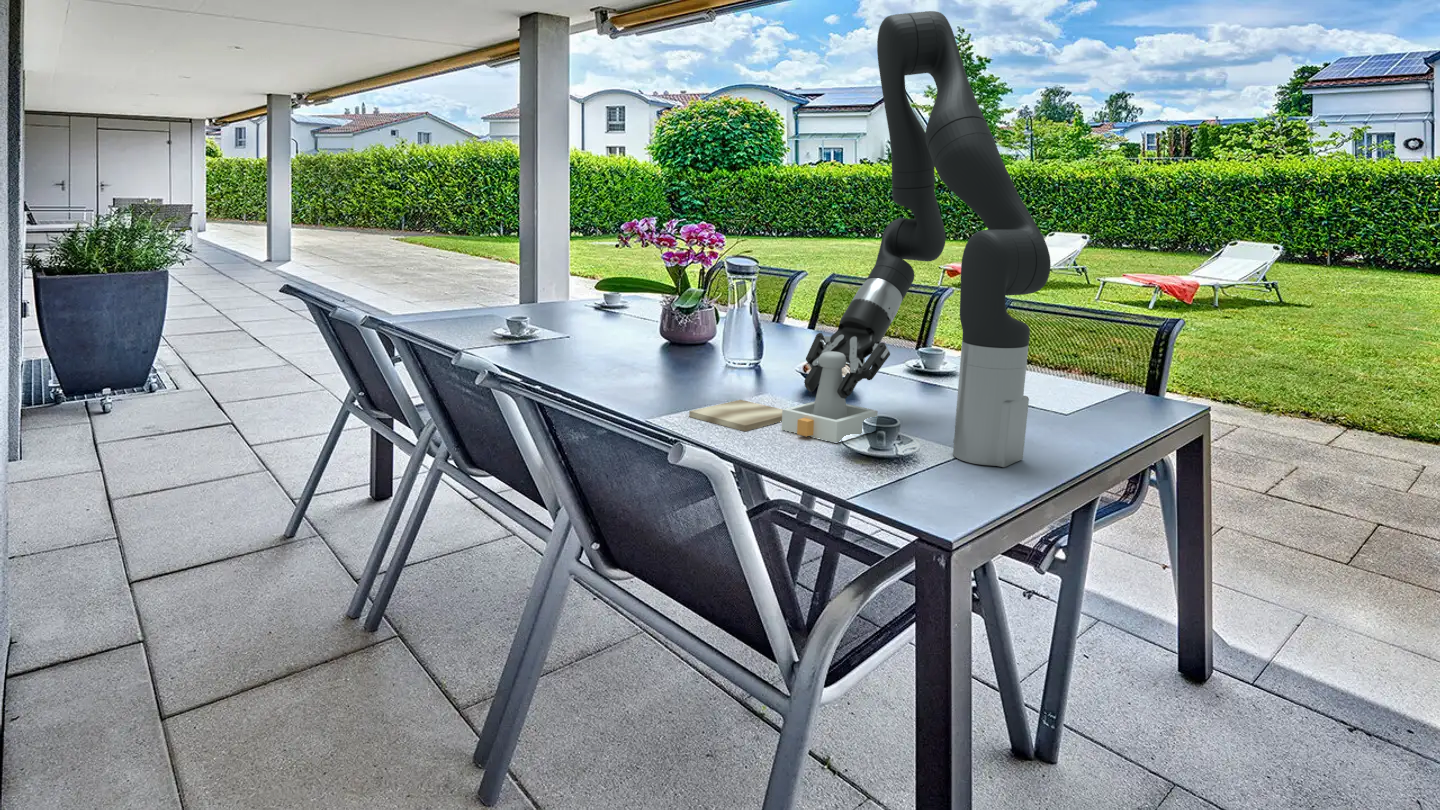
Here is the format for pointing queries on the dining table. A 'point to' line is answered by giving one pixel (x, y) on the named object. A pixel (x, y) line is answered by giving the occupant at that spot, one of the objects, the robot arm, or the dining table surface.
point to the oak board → (739, 415)
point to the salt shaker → (830, 387)
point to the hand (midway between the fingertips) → (824, 391)
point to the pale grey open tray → (824, 422)
